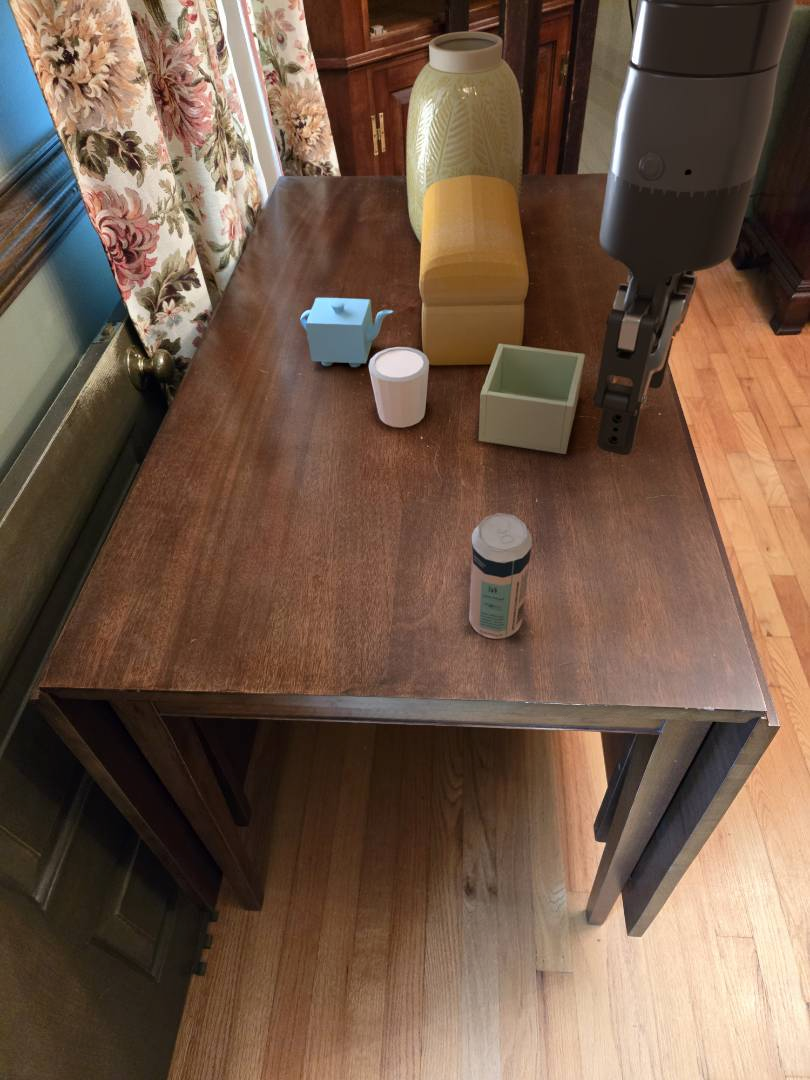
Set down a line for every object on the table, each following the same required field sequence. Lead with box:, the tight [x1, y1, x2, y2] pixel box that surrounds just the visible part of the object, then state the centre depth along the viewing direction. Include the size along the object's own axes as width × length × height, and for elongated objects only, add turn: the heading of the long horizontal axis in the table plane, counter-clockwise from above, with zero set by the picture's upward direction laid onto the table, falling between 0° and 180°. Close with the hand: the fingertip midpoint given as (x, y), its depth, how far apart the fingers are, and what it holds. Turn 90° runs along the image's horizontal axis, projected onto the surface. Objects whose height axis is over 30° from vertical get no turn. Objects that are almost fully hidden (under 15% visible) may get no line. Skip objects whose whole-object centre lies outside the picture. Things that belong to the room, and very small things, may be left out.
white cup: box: [368, 346, 430, 428], centre depth 84 cm, size 7×7×7 cm
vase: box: [405, 30, 524, 245], centre depth 105 cm, size 17×17×27 cm
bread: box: [418, 175, 530, 366], centre depth 95 cm, size 24×13×15 cm, turn 178°
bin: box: [478, 343, 586, 455], centre depth 82 cm, size 10×10×7 cm
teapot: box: [300, 297, 394, 368], centre depth 93 cm, size 12×6×8 cm, turn 82°
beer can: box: [468, 512, 533, 640], centre depth 62 cm, size 5×5×12 cm
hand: (631, 414), depth 50 cm, fingers open, 8 cm apart
